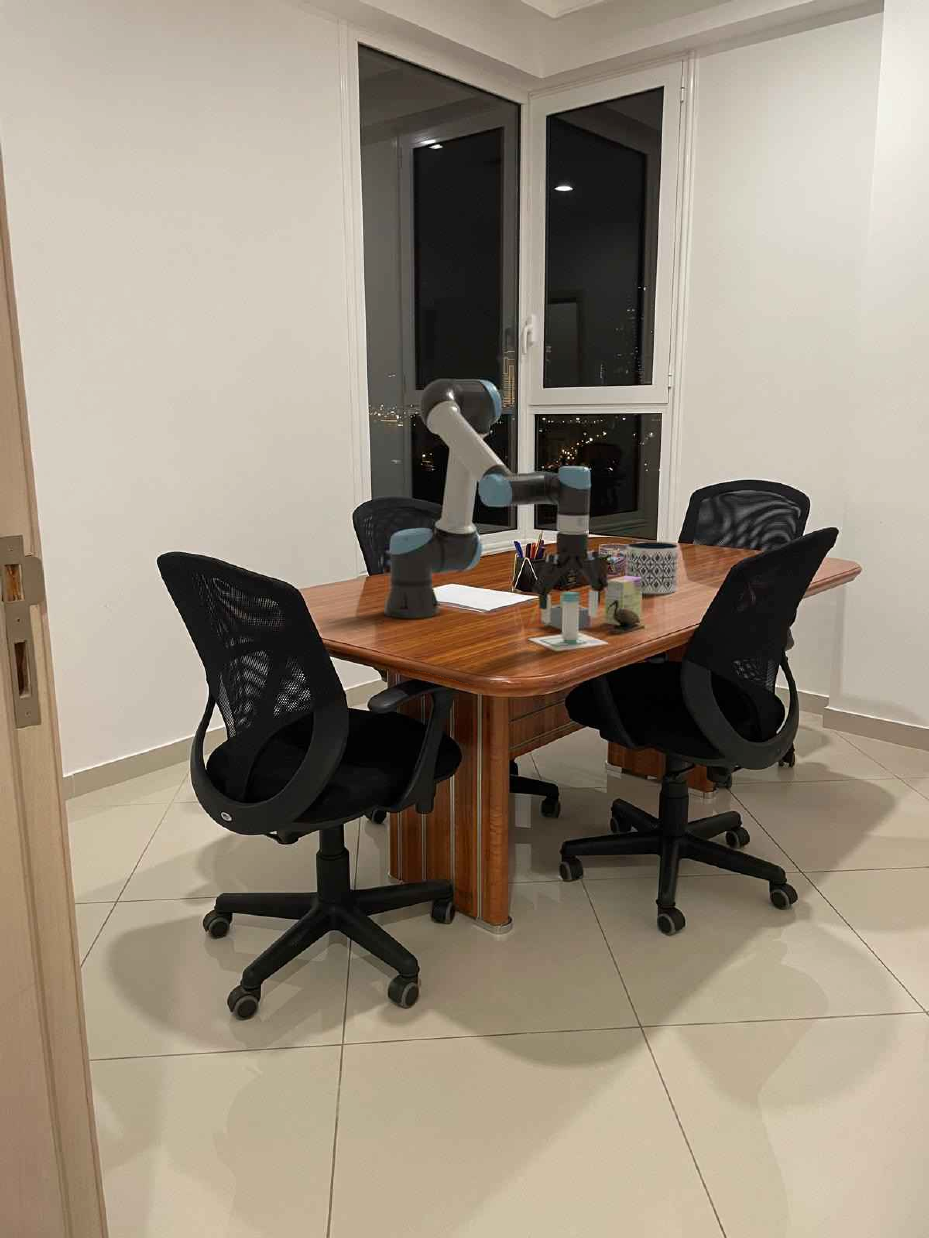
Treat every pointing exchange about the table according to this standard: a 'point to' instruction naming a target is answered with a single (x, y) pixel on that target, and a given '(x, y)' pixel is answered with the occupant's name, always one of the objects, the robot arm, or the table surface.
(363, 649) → the table surface
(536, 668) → the table surface
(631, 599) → the box
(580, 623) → the button box
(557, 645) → the sheet
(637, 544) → the planter
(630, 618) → the figurine
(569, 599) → the white teal cylinder
